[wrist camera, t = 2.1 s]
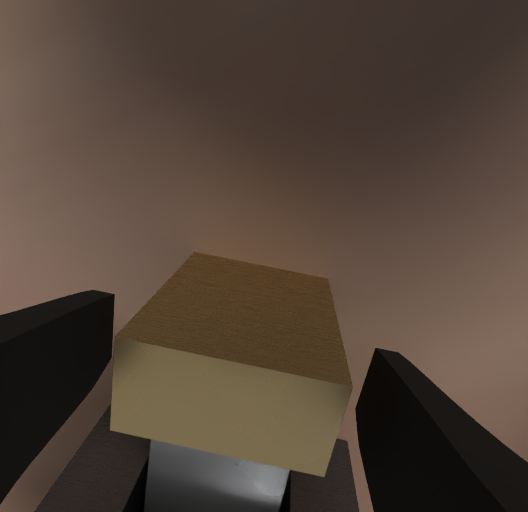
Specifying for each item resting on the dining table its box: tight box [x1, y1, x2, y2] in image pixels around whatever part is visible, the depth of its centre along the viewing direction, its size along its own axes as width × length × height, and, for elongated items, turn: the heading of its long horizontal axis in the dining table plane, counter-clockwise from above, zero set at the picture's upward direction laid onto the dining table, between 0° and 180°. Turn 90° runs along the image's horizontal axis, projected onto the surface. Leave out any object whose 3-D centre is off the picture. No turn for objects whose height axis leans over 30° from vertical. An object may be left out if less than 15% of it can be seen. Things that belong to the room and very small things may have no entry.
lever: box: [110, 252, 353, 512], centre depth 12 cm, size 11×5×6 cm, turn 170°
